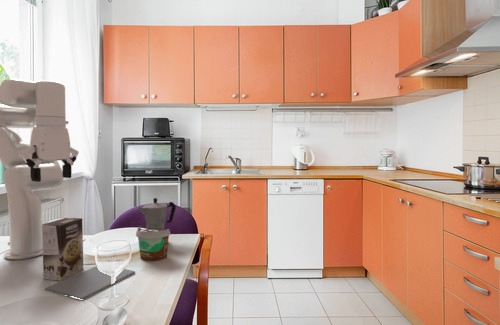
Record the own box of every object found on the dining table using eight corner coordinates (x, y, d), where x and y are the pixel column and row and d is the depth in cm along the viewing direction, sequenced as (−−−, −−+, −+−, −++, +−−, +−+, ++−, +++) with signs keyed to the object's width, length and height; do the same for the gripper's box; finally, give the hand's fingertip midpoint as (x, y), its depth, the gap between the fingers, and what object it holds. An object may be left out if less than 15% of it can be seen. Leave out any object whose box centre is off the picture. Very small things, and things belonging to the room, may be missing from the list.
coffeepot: (144, 250, 113) (144, 202, 112) (134, 244, 120) (133, 198, 119) (181, 241, 124) (181, 197, 123) (170, 236, 131) (169, 194, 130)
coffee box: (61, 281, 88) (59, 225, 87) (42, 279, 89) (40, 224, 88) (84, 268, 97) (83, 217, 96) (67, 266, 98) (65, 216, 97)
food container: (128, 260, 104) (127, 231, 103) (139, 254, 110) (138, 226, 109) (161, 264, 101) (161, 233, 100) (170, 257, 107) (170, 228, 106)
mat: (45, 289, 83) (45, 287, 83) (101, 265, 99) (101, 263, 99) (81, 300, 77) (81, 298, 77) (135, 273, 94) (134, 271, 94)
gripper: (68, 124, 103) (69, 175, 104) (11, 121, 87) (13, 181, 88) (85, 124, 100) (85, 177, 101) (29, 121, 84) (31, 184, 85)
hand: (52, 179), depth 95 cm, fingers open, 9 cm apart
